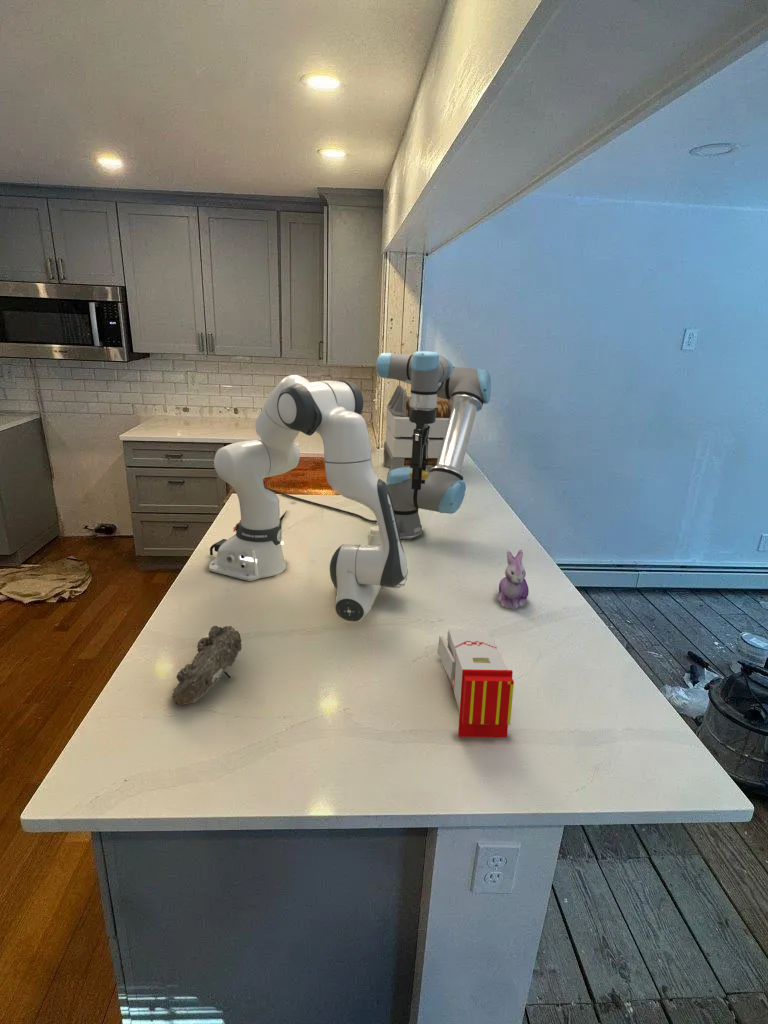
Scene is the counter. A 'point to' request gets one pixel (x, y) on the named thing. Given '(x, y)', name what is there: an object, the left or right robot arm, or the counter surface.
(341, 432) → the left robot arm
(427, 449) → the right robot arm
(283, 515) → the feather
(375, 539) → the jar
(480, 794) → the counter surface
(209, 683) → the fossil
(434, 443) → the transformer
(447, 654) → the toy
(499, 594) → the figurine
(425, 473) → the lid
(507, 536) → the counter surface
